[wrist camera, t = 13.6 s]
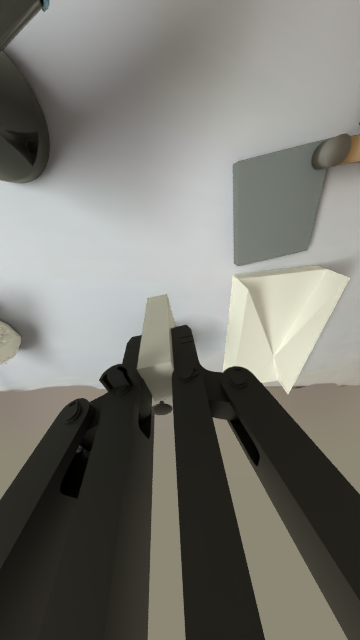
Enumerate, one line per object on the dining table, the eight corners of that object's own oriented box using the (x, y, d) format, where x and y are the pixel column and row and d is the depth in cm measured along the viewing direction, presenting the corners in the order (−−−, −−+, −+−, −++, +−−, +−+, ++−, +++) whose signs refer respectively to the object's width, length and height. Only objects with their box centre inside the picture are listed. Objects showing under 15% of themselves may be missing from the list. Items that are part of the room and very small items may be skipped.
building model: (273, 373, 69) (288, 394, 61) (221, 380, 68) (229, 402, 60) (316, 264, 43) (350, 277, 35) (232, 274, 42) (248, 289, 35)
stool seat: (233, 164, 30) (238, 161, 28) (322, 142, 29) (334, 137, 27) (233, 263, 40) (237, 266, 38) (299, 248, 40) (307, 250, 38)
